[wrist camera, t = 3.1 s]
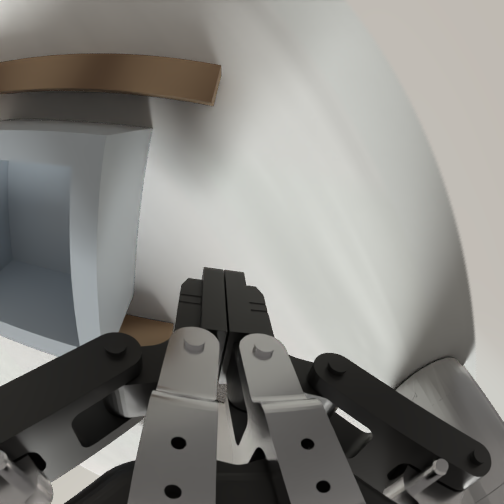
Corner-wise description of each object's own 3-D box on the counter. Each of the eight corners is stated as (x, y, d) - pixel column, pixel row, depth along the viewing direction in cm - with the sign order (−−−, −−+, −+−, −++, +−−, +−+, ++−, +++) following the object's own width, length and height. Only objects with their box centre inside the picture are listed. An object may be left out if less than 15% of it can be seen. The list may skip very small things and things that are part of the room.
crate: (153, 128, 12) (106, 135, 7) (134, 292, 16) (104, 369, 10) (10, 119, 11) (-65, 133, 5) (12, 263, 14) (-40, 316, 9)
